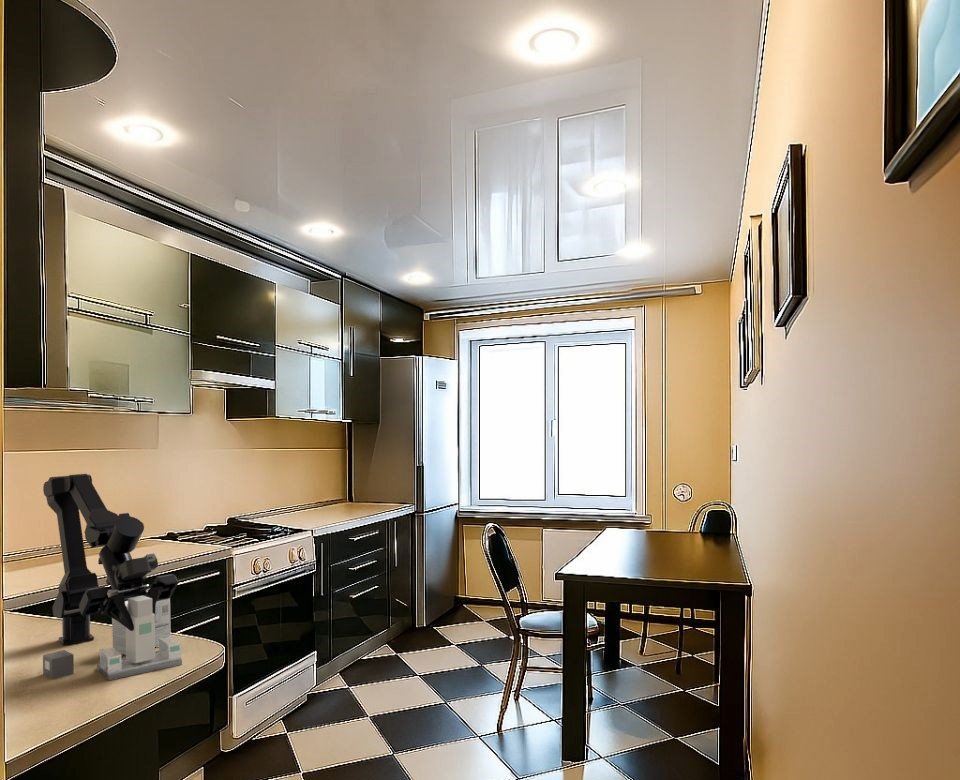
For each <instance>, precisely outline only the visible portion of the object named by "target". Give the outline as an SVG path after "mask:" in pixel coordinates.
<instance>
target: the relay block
mask: <svg viewBox="0 0 960 780" xmlns="http://www.w3.org/2000/svg"><path fill="white" fill-rule="evenodd" d="M74 656H75V655H74V654H73V653H72V652H70V651H67V650H65V649H62V650H59V651H54V652H50V653H46V654H43V655H42V675H43V676H45V677H47V678H49V679H51V680H55V679H56V680H57V679H59V678H63V677H67V676H71V675H74V674H75V671H74V666H75V665H74V662H75V661H74V660H75V659H74Z"/></svg>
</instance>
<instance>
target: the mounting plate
mask: <svg viewBox="0 0 960 780" xmlns="http://www.w3.org/2000/svg"><path fill="white" fill-rule="evenodd" d="M181 665H183V659H182V641H179V640H178V639H176V638H175V637H174V636H172V635H171V636H167V637H161V638H159V647H158V650H157V651H156V650H155V658H154V659H150V660H146V661H143V662H139V663H134V662H132V661H130V660H127V659H126V657H122V654H120V653H119V652H118V651H117V650H116V649H115V648H113V646H111V647H106V648H102V649H99V662H97V664H96V669H97V670H98V671H99V672H100V674H101V675H102V676H103V677H106V678H107V679H106V678H105V679H106V680H107V681H108V680H110V681H113V680H112V679H114V680H118V679H117V678H119V679H123V678H126V677H127V676H128V677H131V676H136V675H140V674H144V673H145V674H146V673H149V672H155V671H157V670H158V671H159V670H162V669H168V668H172V667H176V666H181ZM122 677H123V678H122Z"/></svg>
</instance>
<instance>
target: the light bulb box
mask: <svg viewBox="0 0 960 780" xmlns="http://www.w3.org/2000/svg"><path fill="white" fill-rule="evenodd" d="M125 605H126V608H127V610H128V600H126V601H125ZM111 628H112V629H111V631H112V635H111V637H112V647H113V648H115V649H116V650H117V651H118V652H119V653H120V654H121V655H123V654H124V656H126V627H125V626H123V625H122V624H121V623H119V622H118V621H117V620H115V619H113V618H111ZM171 631H172V630H171V597H170V598H169V599H165V600H160V601H157V602H156V611H155V647H156V648H159V647H158V646H159V638H161V637H167V636H172V635H171Z"/></svg>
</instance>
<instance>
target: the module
mask: <svg viewBox="0 0 960 780" xmlns="http://www.w3.org/2000/svg"><path fill="white" fill-rule="evenodd" d="M127 601H128V612H129V614H130V617H131V619H132V622H133V625H134V630H133V631H130V630H129V629H127V628H126V655H125V658H126V659H127V660H130V661H132V662H134V663H139V662H143V661H146V660H150V659H154V658H155V652H156V648H155V614H153V613H152V598H149V597H146V596H143V595H142V596H137V597H132V598H128V599H127Z"/></svg>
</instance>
